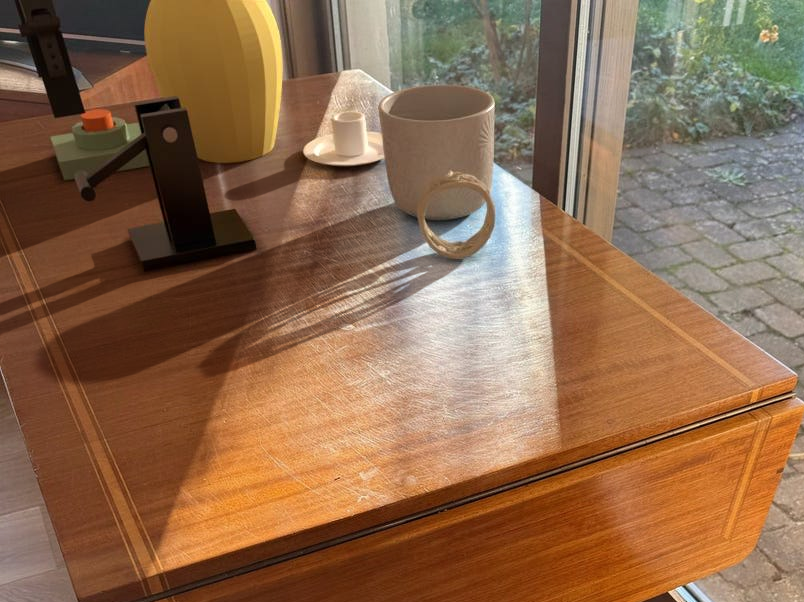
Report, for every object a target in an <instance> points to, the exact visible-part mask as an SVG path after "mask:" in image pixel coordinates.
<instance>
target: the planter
mask: <svg viewBox="0 0 804 602" xmlns="http://www.w3.org/2000/svg"><path fill="white" fill-rule="evenodd" d="M495 105H496V103H495V99H494V97H493V96H492V95H491V94H490V93H488V92H487V91H484V90H483V89H479V88H477V87H473V86H468V85H461V84H428V85H427V84H425V85H419V86H412V87H408V88H403V89H400V90H397V91H394V92H393V93H392V92H391V93H390V94H388V95H386V96H384V97H383V98H382V99H381V100H380V101H379V103H378V106H377V109H378V117H379V125H380V133H381V134H382V142H383V150H384V165H385V171H386V176H387V182H388V187H389V190H390V193H391V197H392V199H393V201H394V203H395V205H396V206H397V207H398V208H399V209H400V210H401V211H403V212H404V213H405V214H408V215H410V216H412V217H414V218H417V219H418V217H417V206H418V200H419V196H420V194H421V192H422V190H423V188H424V187H425V185H426V184H428V183H429V182H430V181H431V180H432V179H434V178H435V177H437V176H440V175H443V174H444V175H445V174H448V172H449V171H452V172H460V173H463V174H468V175H472V176H474V177H475V178H477V179H478V180H479V181H481V182H482V183H483V184H484V185H485V187H486V188H487V189H488V190H489V192H490V193H491V191H492V186H493V175H494V174H493V173H494V162H495V161H494V159H495ZM484 205H486V201H485V199H484V198H483V197H482V196H481V195H480V194H479V193H478V192H476V191H475V190H473V189H470V188H459V187H458V188H450V189H446V190H444V191H441V192H440V193H439V194H437V195H436V196H435V197H434V198H433V199H432V201H431V202H430V203H429V205H428V207H427V208H426V211H425V216H424V219H425V220H427V221H448V220H449V221H450V220H455V219H459V218H460V219H461V218H463V217H467V216H470V215H472V214H473V213H475V212H476V211H478V210H480V209H481V207H483V206H484Z"/></svg>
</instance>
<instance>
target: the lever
mask: <svg viewBox="0 0 804 602" xmlns="http://www.w3.org/2000/svg"><path fill="white" fill-rule="evenodd" d="M165 110H170V108H169V107H168V106H167V104H164V105H163V106H162V107H160V108H159V109H158V110H156V111H155V112H159V111H165ZM146 148H148V144H147V140H146V136H145V132H144V133H142V134H141V135H140V136H138V137H137V138H136V139H134V140H133V141H132V142H131V143H129V144H128V145H127V146H125V147H124V148H123V149H121V150H120V151H119V152H117V153H116V154H115V155H113V156H112V157H111V158H109V159H108V160H107V161H105V162H104V163H103V164H101V165H100V166H99V167H97V168H96V169H95V170H93V171H92V172H91V173H89V174H88V173H87V172H85V171H83V170H79V171H77V172H76V173H75V175H74V178H75V179H74V181H75V183H76V186H77V188H78V191H79V192H78V193H79V194H80V197H81V198H82V199H83V200H84V202H85V201H86V202H88V203H89V202H93V201H95V199H96V198H97V192H96V189H95V188H96V187H98V186H99V185H100V184H102V183H103V182H104V181H105V180H107V179H108V178H109V177H111V176H112V175H113V174H115V173H116V171H117V170H119V169H120V168H121V167H123V166H124V165H125V164H127V163H128V162H129V161H130V160H132V159H133V158H134V157H136V156H137V155H138V154H140V153H141V152H142V151H144V150H145V149H146ZM117 172H118V171H117Z"/></svg>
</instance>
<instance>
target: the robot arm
mask: <svg viewBox="0 0 804 602" xmlns="http://www.w3.org/2000/svg"><path fill="white" fill-rule="evenodd" d="M13 1H14V3H15V7H16V10H17V13H18V17H19V19H20V24H17V27H18V30H19V33H20V37H21V38H26V41H27V45H28V48H29V51H30V55H31V57H32V60H33V63H34V66H35V70H36V73H37V76H38V78H41V80H42V83H43V86H44V89H45V92H46V95H47V98H48V103H49V105H50V108H51V112H52V115H53V117H54V119H59V118H65V117H71V116H78V115H81V114H84V113H85V112H86V109H85V106H84V103H83V100H82V96H81V92H80V90H79V86H78V83H77V80H76V76H75V73H74V70H73V66H72V63H71V59H70V56H69V52H68V49H67V46H66V42H65V39H64V36H63V32H62V30H61V19H60V16H59V15H58V14H57V12H56V9H55V6H54V2H53V0H13Z"/></svg>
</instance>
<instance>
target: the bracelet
mask: <svg viewBox="0 0 804 602" xmlns="http://www.w3.org/2000/svg"><path fill="white" fill-rule="evenodd" d="M458 187H459V188H470V189H473V190H475V191H476V192H478V193H479V194H480V195H481V196H482V197H483V198H484V199H485V201H486V202H485V205H486V212H485V217H484V222H483V224H482V226H481V228H480V229H479V230H478V231H477V232H476V233H475V234H473V235H472V236H470V237H469V238H468V239H466V241H462V240H459V241H455V242H451V241H447V240H445V239H443V238H441V237H439V236H438V235H437V234H435V233H434V232H433V231H432V230H431V229H430V228H429V226H428V224H427V222H426V219H424V216H425V211H426V208H427V207H428V205H429V203H430V202H431V201H432V199H433V198H434V197H435V196H436V195H437V194H439V193H440V192H441V191H444V190H446V189H450V188H458ZM417 217H418V218H417ZM417 217H416V218H417V221H418V224H419V227H420V231H421V236H423V239H424V240H425V242H426V243H427V245H428V246H429V248H430V249H432V250H433V251H434V252H436V254H437V255H439V256H441V257H446V258H449V259H453V260H460V259H461V260H463V259H466V258H469V257H471V256H472V255H475V254H476V253H477V252H479V251H480V250H482V248H484V246H485V245H487V242H488V241H489V240H490V238H491V236H492V233H493V231H494V229H495V222H496V205H495V204H494V200H493V196H492V195H491V191H490V192H489V190H488V189H487V188H486V187H485V185H484V184H483V183H482V182H481V181H479V180H478V179H477V178H475V177H474V176H472V175H468V174H463V173H460V172H452V171H449V172H448V174H445V175H444V174H443V175H440V176H437V177H435V178H434V179H432V180H431V181H430V182H429V183H428V184H426V185H425V187H424V188H423V190H422V192H421V194H420V196H419V200H418V206H417Z"/></svg>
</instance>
